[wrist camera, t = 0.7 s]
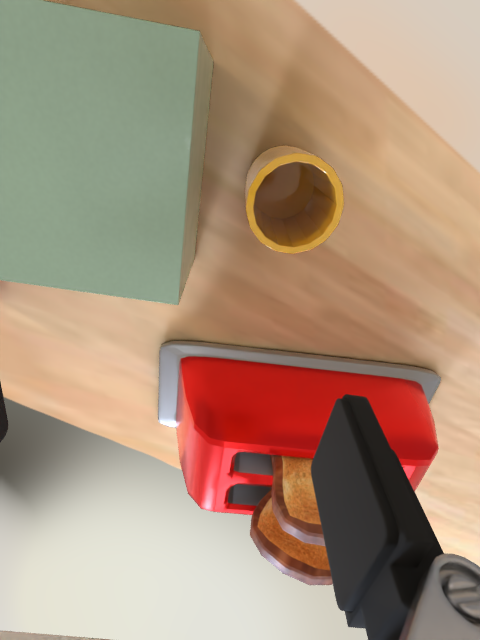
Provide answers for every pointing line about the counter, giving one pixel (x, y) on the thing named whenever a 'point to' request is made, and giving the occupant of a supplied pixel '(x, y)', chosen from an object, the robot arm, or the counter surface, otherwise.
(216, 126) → the counter surface
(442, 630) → the robot arm
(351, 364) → the toaster
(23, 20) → the shelf
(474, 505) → the counter surface
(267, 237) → the cup
